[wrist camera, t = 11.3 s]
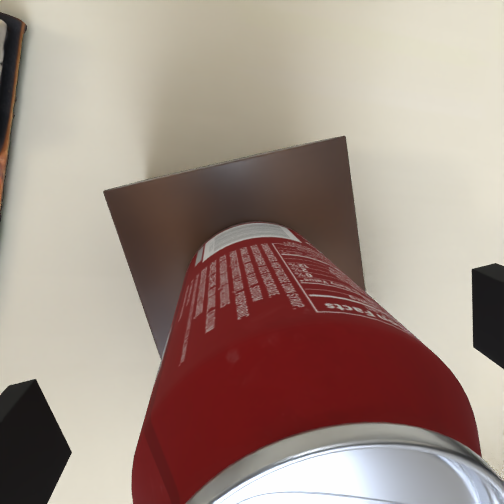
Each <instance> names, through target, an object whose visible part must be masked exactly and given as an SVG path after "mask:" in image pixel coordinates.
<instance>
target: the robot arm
mask: <svg viewBox="0 0 504 504" xmlns="http://www.w3.org/2000/svg"><path fill="white" fill-rule="evenodd" d="M472 306H473V347H474V348H475V349H477V350H478V351H480V352H481V353H482V354H484V355H485V356H486V357H488V358H489V359H491V360H492V361H493V362H495V363H496V364H497V365H499V366H500V367H501V368H503V369H504V266H502V265H499V264H496V263H494V264H491V265H487V266H483V267H479V268H475V269H472ZM71 453H72V452H71V450H70V448H69V446H68V443H67V441H66V439H65V437H64V435H63V433H62V431H61V429H60V427H59V425H58V423H57V421H56V419H55V417H54V415H53V413H52V411H51V409H50V407H49V405H48V403H47V401H46V399H45V397H44V395H43V393H42V391H41V389H40V387H39V385H38V383H37V381H36V379H34V380H30V381H26V382H22V383H18V384H14V385H10V386H8V387H7V388H6V389H5V390H4V391H3V393H2V394H1V395H0V504H47V503H48V501H49V499H50V497H51V495H52V493H53V491H54V488H55V486H56V484H57V482H58V480H59V478H60V476H61V474H62V472H63V470H64V468H65V466H66V464H67V462H68V459H69V457H70V455H71Z"/></svg>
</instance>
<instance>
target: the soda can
mask: <svg viewBox="0 0 504 504" xmlns="http://www.w3.org/2000/svg"><path fill="white" fill-rule="evenodd" d="M132 498H133V504H504V481H503V480H502V478H501V477H500V476H499V475H498V474H497V473H496V472H495V471H494V469H493V468H492V467H491V466H490V465H489V464H488V463H487V462H485V461H484V460H483V459H482V455H481V449H480V443H479V437H478V430H477V425H476V421H475V417H474V413H473V410H472V408H471V405H470V402H469V400H468V397H467V395H466V393H465V392H464V390H463V388H462V386H461V384H460V383H459V381H458V380H457V378H456V377H455V376H454V374H453V373H452V372H451V370H450V369H449V368H448V367H447V366H446V365H445V364H444V363H443V362H442V361H441V359H440V358H439V357H438V356H436V355H435V354H434V353H433V352H432V351H431V350H430V349H429V348H428V347H426V346H425V345H424V344H423V343H422V342H421V341H420V340H419V339H417V338H416V337H415V336H414V335H413V334H412V333H411V332H410V331H408V330H407V329H406V328H405V327H404V326H403V325H402V324H401V323H399V322H398V321H397V320H396V319H395V318H394V317H393V316H392V315H390V314H389V313H388V312H387V311H386V310H385V309H384V308H383V307H381V306H380V305H379V304H378V303H377V302H376V301H375V300H374V299H372V298H371V297H370V296H369V295H368V294H367V293H366V292H365V291H363V290H362V289H361V288H360V287H359V286H358V285H357V284H356V283H355V282H353V281H352V280H351V279H350V278H349V277H348V276H347V275H346V274H344V273H343V272H342V271H341V270H340V269H339V268H338V267H337V266H335V265H334V264H333V263H332V262H331V261H330V260H329V259H328V258H326V257H325V256H324V255H323V254H322V253H321V252H320V251H319V250H317V249H316V248H315V247H314V246H313V245H312V244H311V243H310V242H308V241H307V240H306V239H305V238H304V237H303V236H301V235H300V234H298V233H297V232H295V231H294V230H292V229H290V228H288V227H285V226H283V225H279V224H276V223H271V222H262V221H254V222H245V223H240V224H237V225H233V226H231V227H228V228H226V229H224V230H222V231H220V232H218V233H217V234H215V235H214V236H212V237H211V238H210V239H208V240H207V241H206V242H205V243H204V244H203V245H202V246H201V247H200V248H199V250H198V251H197V252H196V254H195V255H194V257H193V258H192V260H191V262H190V264H189V266H188V269H187V271H186V275H185V278H184V282H183V285H182V289H181V292H180V296H179V299H178V303H177V306H176V310H175V314H174V317H173V321H172V324H171V328H170V331H169V335H168V338H167V342H166V345H165V349H164V352H163V356H162V359H161V363H160V366H159V370H158V373H157V377H156V380H155V384H154V387H153V391H152V394H151V398H150V401H149V405H148V408H147V412H146V415H145V419H144V422H143V426H142V429H141V433H140V436H139V440H138V444H137V447H136V451H135V455H134V461H133V468H132Z"/></svg>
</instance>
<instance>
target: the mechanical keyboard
mask: <svg viewBox="0 0 504 504" xmlns="http://www.w3.org/2000/svg"><path fill="white" fill-rule="evenodd" d="M26 30H27V25H26V24H25V23H24V22H23V21H22V20H20V19H18V18H15V17H13V16H10V15H7V14H4V13H1V12H0V211H1V209H2V201H3V189H4V181H5V177H6V176H5V174H6V167H7V163H8V156H9V155H8V149H9V145H10V134H11V127H12V120H13V117H14V113H13V108H14V104H15V101H16V86H17V82H18V72H19V63H20V56H21V48H22V40H23V34H24V33H25V31H26ZM0 221H1V213H0Z"/></svg>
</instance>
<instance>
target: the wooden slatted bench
mask: <svg viewBox="0 0 504 504" xmlns="http://www.w3.org/2000/svg"><path fill="white" fill-rule="evenodd" d="M103 193H104V196H105V199H106V201H107V204H108V207H109V210H110V213H111V216H112V219H113V222H114V225H115V228H116V230H117V233H118V236H119V239H120V242H121V245H122V248H123V251H124V254H125V257H126V259H127V262H128V265H129V268H130V271H131V274H132V277H133V280H134V283H135V286H136V288H137V291H138V294H139V297H140V300H141V303H142V306H143V309H144V312H145V315H146V317H147V320H148V323H149V326H150V329H151V332H152V335H153V338H154V341H155V344H156V346H157V349H158V352H159V355H160V358H161V359H162V356H163V352H164V349H165V345H166V342H167V338H168V335H169V331H170V328H171V324H172V321H173V317H174V314H175V310H176V306H177V303H178V299H179V296H180V292H181V289H182V285H183V282H184V278H185V275H186V271H187V269H188V266H189V264H190V262H191V260H192V258H193V257H194V255H195V254H196V252H197V251H198V250H199V248H200V247H201V246H202V245H203V244H204V243H205V242H206V241H207V240H208V239H210V238H211V237H212V236H214V235H215V234H217V233H218V232H220V231H222V230H224V229H226V228H228V227H231V226H233V225H237V224H240V223H245V222H254V221H262V222H271V223H276V224H279V225H283V226H285V227H288V228H290V229H292V230H294V231H295V232H297V233H298V234H300V235H301V236H303V237H304V238H305V239H306V240H307V241H308V242H310V243H311V244H312V245H313V246H314V247H315V248H316V249H317V250H319V251H320V252H321V253H322V254H323V255H324V256H325V257H326V258H328V259H329V260H330V261H331V262H332V263H333V264H334V265H335V266H337V267H338V268H339V269H340V270H341V271H342V272H343V273H344V274H346V275H347V276H348V277H349V278H350V279H351V280H352V281H353V282H355V283H356V284H357V285H358V286H359V287H360V288H361V289H362V290H363V291H365V284H364V276H363V269H362V261H361V253H360V245H359V237H358V230H357V222H356V214H355V206H354V198H353V191H352V183H351V175H350V167H349V160H348V152H347V144H346V137H345V136H341V137H335V138H330V139H325V140H320V141H315V142H310V143H305V144H300V145H296V146H291V147H287V148H282V149H278V150H274V151H269V152H265V153H260V154H256V155H252V156H247V157H243V158H239V159H234V160H230V161H225V162H221V163H217V164H212V165H208V166H203V167H199V168H195V169H190V170H186V171H181V172H177V173H173V174H168V175H164V176H160V177H155V178H151V179H146V180H143V181H139V182H135V183H131V184H127V185H123V186H120V187H116V188H112V189H108V190H104V191H103Z"/></svg>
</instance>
